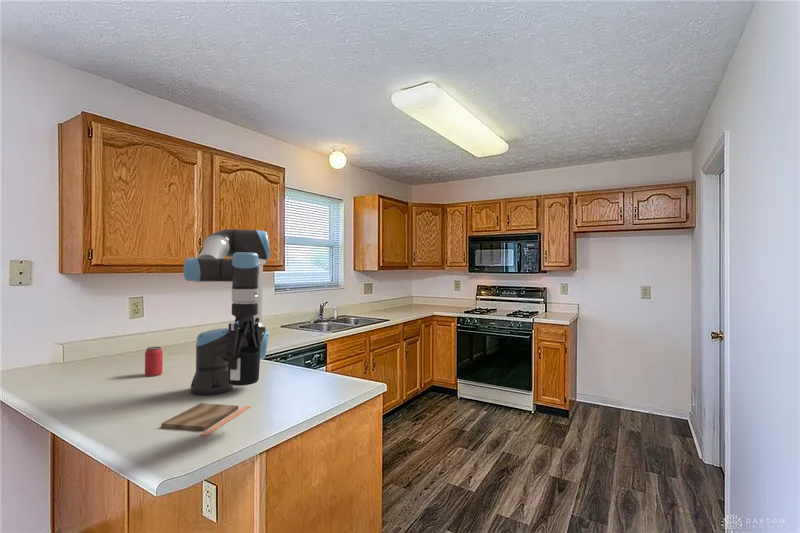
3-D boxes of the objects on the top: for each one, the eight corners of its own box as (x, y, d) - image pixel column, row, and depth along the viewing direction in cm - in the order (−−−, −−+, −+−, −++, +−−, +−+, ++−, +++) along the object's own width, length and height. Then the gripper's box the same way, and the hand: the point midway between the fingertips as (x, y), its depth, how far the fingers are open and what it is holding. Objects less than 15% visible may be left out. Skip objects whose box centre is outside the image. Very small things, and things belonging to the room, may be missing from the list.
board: (161, 427, 118) (161, 423, 118) (200, 406, 135) (200, 403, 135) (203, 430, 115) (204, 426, 115) (238, 409, 133) (238, 405, 133)
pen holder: (259, 385, 118) (259, 352, 118) (225, 387, 115) (225, 353, 115) (260, 376, 127) (261, 345, 127) (229, 378, 124) (229, 347, 124)
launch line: (200, 435, 112) (200, 434, 112) (245, 406, 136) (245, 405, 136) (206, 436, 112) (206, 434, 112) (251, 406, 136) (251, 406, 136)
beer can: (141, 375, 172) (141, 348, 172) (155, 372, 178) (155, 345, 178) (151, 377, 170) (152, 349, 170) (165, 373, 176) (166, 347, 176)
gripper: (237, 306, 110) (235, 386, 110) (272, 299, 131) (271, 366, 131) (212, 305, 111) (211, 385, 111) (251, 299, 132) (250, 365, 132)
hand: (243, 375), depth 121 cm, fingers closed on pen holder, 9 cm apart
